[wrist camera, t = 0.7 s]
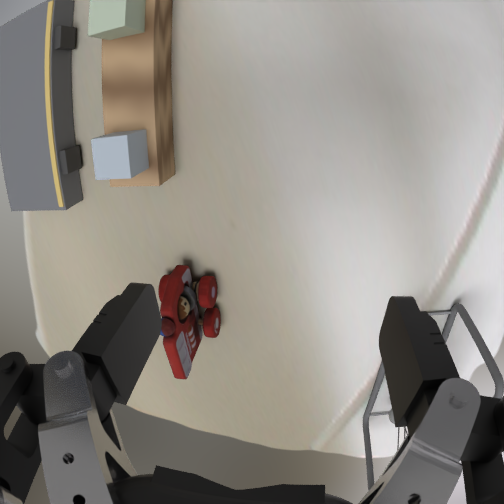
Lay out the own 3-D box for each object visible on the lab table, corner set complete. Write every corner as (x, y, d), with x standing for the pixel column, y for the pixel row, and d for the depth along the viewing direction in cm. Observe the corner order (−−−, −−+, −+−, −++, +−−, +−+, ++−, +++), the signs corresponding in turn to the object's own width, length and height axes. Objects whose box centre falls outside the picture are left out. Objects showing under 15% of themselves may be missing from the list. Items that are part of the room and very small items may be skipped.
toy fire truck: (214, 257, 39) (190, 308, 30) (223, 332, 45) (207, 386, 36) (163, 256, 40) (129, 303, 31) (178, 328, 46) (156, 379, 37)
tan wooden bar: (126, 3, 25) (104, -6, 21) (173, -7, 24) (156, -20, 20) (131, 174, 35) (110, 186, 31) (176, 173, 35) (159, 185, 30)
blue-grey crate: (112, 132, 28) (91, 139, 25) (146, 129, 28) (127, 135, 24) (116, 169, 30) (95, 180, 27) (149, 167, 30) (131, 178, 26)
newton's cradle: (396, 300, 39) (433, 406, 23) (459, 296, 37) (510, 389, 22) (361, 419, 53) (367, 497, 37) (409, 414, 51) (423, 488, 36)
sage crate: (111, 7, 21) (90, -1, 18) (146, -2, 21) (127, -12, 18) (109, 40, 23) (87, 36, 20) (144, 32, 23) (124, 25, 19)
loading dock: (16, 29, 25) (-4, 28, 22) (80, -2, 24) (60, -7, 20) (27, 201, 39) (10, 211, 35) (88, 199, 37) (70, 210, 34)
